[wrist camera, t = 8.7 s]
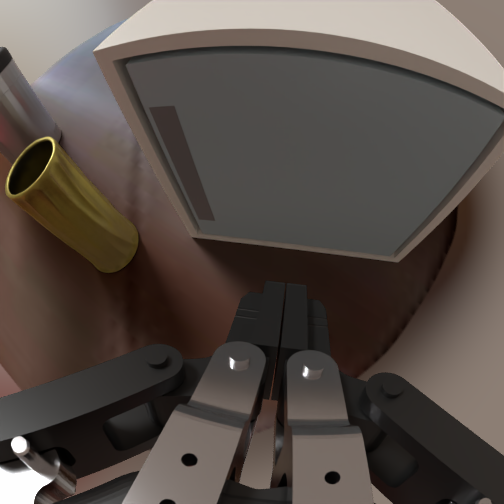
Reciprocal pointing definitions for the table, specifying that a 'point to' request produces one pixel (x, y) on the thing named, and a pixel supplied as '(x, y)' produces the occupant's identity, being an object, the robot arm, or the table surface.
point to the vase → (70, 206)
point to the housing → (315, 38)
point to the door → (309, 142)
